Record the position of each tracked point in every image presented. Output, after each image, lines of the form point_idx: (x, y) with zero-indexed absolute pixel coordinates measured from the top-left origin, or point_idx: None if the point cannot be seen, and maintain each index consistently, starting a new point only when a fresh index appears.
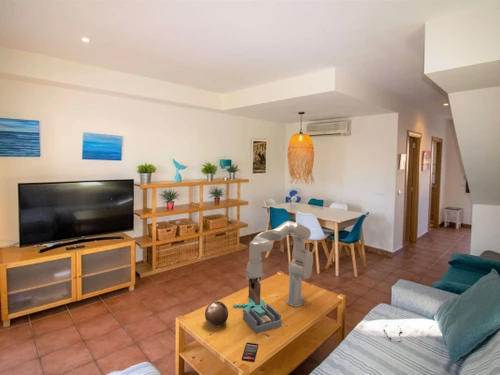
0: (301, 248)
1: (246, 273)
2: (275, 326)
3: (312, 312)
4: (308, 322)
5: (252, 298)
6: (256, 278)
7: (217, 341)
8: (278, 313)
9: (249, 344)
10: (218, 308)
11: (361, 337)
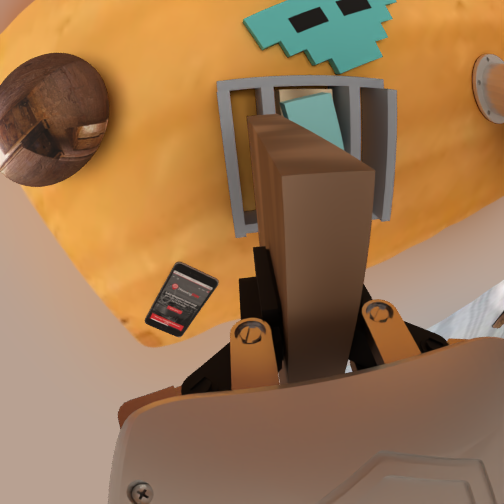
0: None
1: (115, 497)
2: None
3: (496, 177)
4: (453, 222)
5: (256, 201)
6: (381, 344)
7: (72, 224)
8: (389, 203)
9: (185, 273)
10: (19, 173)
11: (477, 310)
